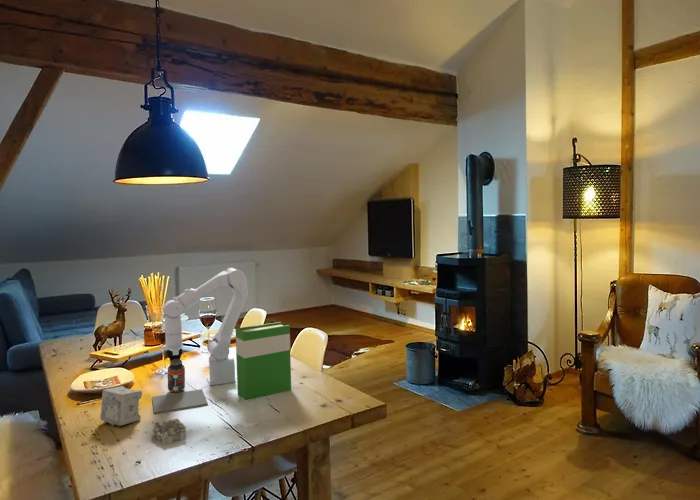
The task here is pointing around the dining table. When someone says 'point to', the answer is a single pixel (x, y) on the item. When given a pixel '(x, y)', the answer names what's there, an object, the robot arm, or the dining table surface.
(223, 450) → the dining table surface
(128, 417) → the incense holder
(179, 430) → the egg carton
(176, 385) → the supplement bottle
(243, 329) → the hardback book
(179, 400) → the mat
